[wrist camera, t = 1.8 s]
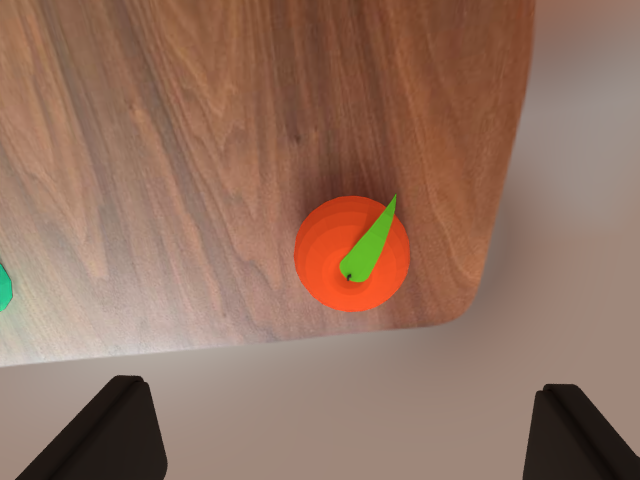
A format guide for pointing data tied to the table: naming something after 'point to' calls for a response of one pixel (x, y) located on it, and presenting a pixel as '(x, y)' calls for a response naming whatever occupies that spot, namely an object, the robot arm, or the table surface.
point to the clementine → (352, 253)
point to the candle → (4, 289)
